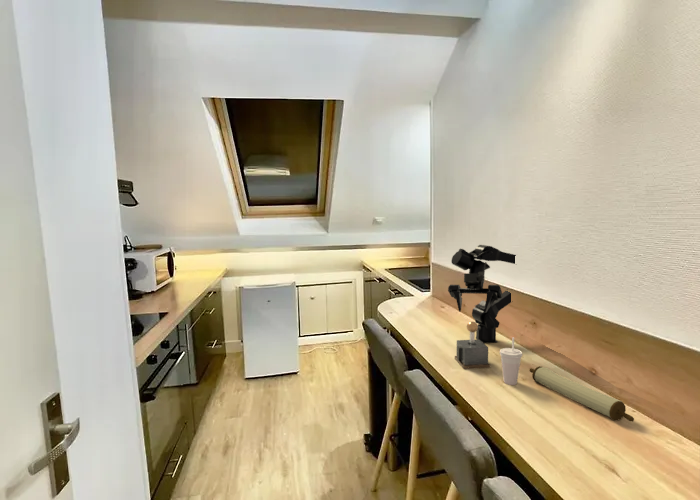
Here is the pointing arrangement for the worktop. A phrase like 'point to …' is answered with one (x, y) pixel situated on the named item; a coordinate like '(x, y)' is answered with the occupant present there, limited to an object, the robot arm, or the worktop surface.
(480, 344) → the copper ball lever box
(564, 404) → the worktop surface
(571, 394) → the rolling pin
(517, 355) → the smoothie
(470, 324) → the copper ball knob
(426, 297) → the worktop surface
